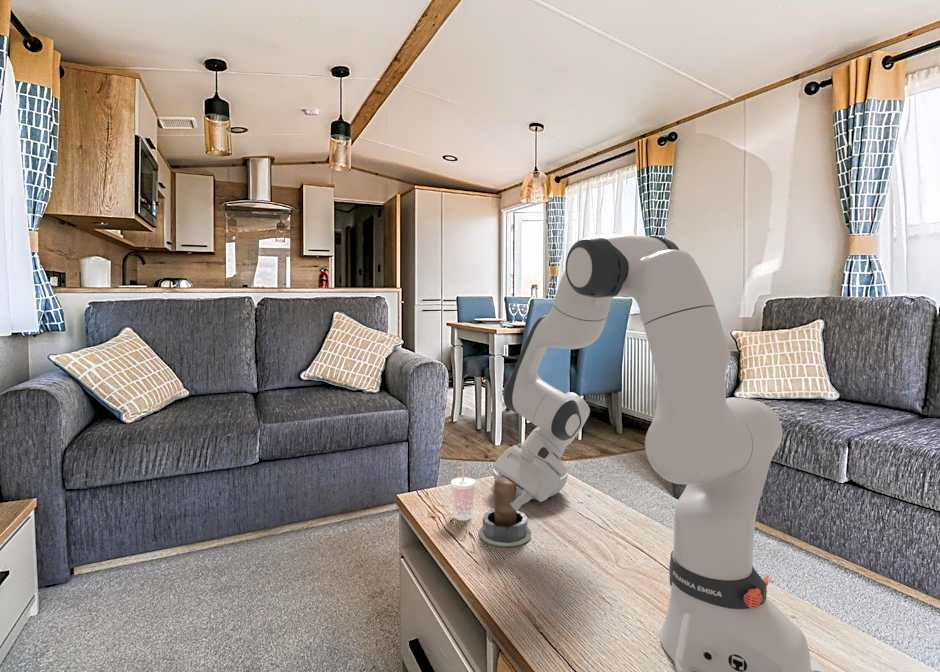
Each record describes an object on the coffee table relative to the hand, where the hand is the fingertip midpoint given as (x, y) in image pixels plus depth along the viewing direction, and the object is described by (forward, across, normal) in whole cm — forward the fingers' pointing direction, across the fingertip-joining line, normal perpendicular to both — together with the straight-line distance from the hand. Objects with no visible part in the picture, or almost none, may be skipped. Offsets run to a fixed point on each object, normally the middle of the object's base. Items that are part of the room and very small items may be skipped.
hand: (502, 500), depth 118 cm
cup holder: (+6, 0, +6) cm, 8 cm away
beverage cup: (+9, -13, +3) cm, 16 cm away
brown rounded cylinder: (+5, 0, +6) cm, 8 cm away
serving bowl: (-7, -20, +20) cm, 29 cm away
